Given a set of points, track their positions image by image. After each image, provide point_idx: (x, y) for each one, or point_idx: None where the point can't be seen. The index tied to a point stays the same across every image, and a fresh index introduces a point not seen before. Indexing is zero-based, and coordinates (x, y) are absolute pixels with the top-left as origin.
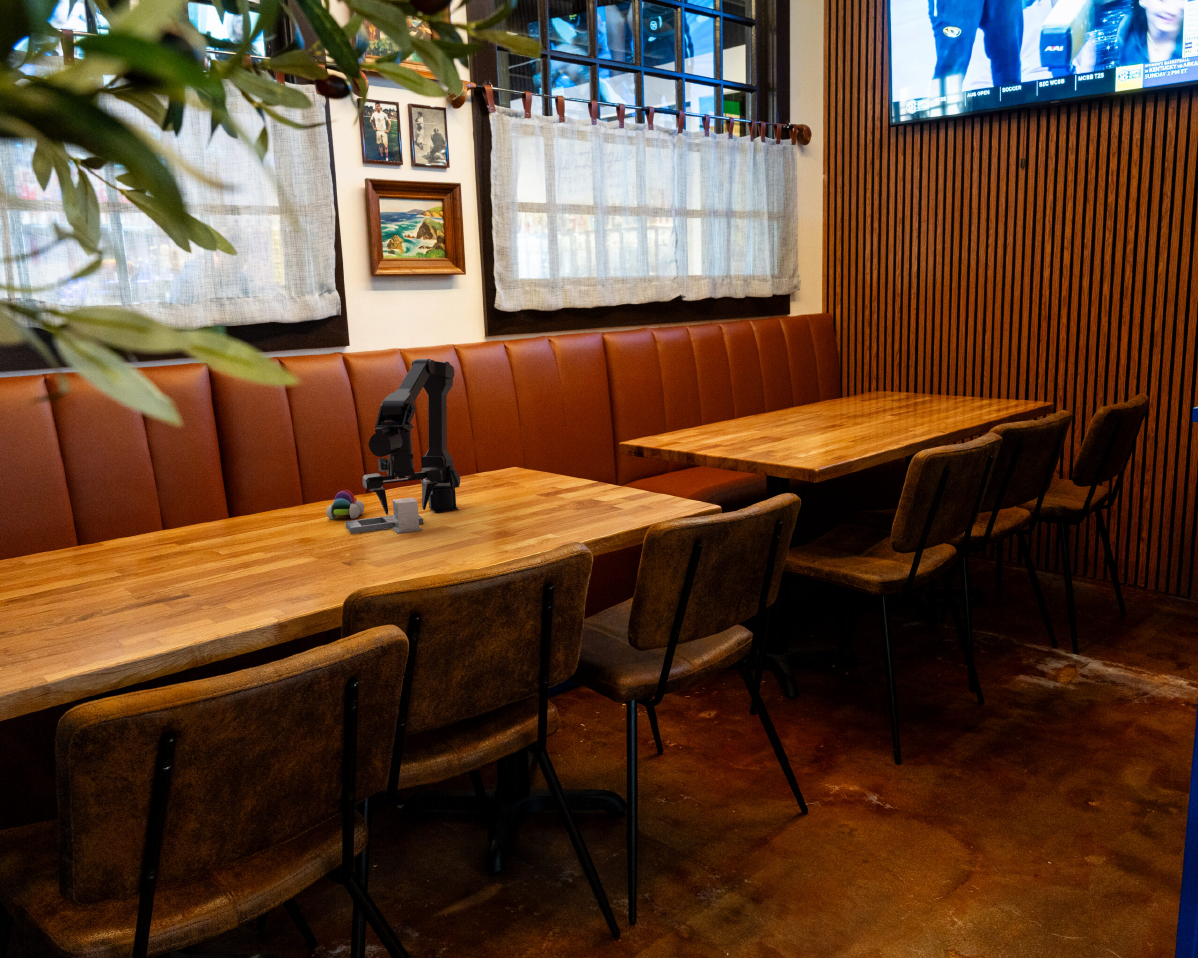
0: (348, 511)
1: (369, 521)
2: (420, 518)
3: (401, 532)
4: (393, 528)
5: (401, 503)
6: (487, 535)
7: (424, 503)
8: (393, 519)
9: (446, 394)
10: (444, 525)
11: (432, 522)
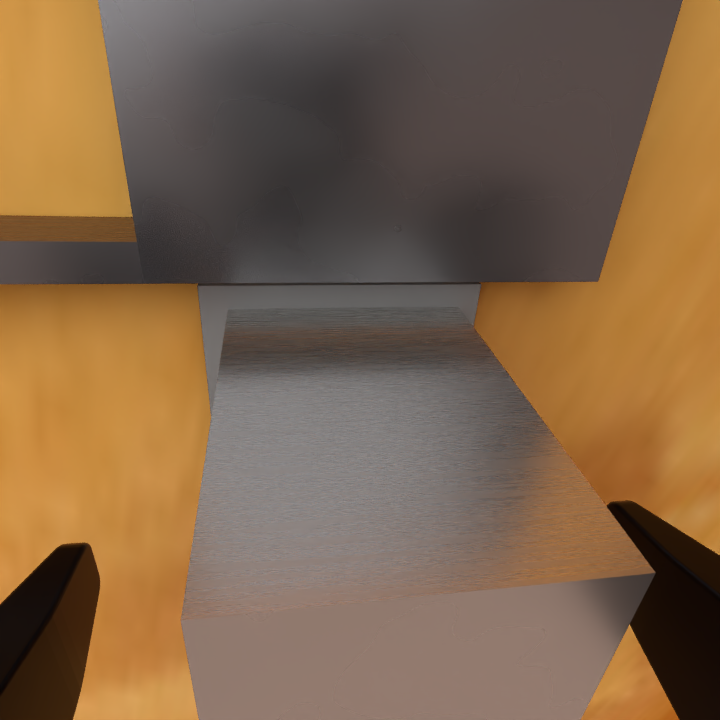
0: None
1: None
2: (573, 274)
3: None
4: (204, 348)
5: None
6: (663, 690)
7: (648, 647)
8: (247, 93)
9: None
10: (663, 407)
11: (668, 233)
